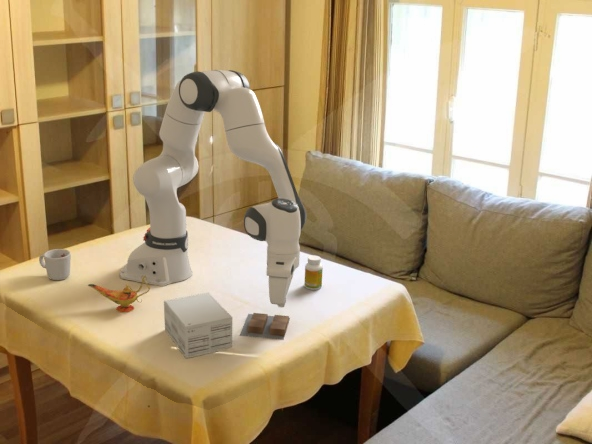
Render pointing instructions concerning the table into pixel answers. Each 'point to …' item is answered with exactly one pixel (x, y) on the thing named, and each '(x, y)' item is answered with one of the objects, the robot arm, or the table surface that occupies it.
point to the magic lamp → (121, 296)
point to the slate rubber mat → (265, 334)
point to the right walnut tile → (279, 325)
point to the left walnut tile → (257, 323)
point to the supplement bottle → (313, 273)
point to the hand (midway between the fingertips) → (281, 305)
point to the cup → (56, 263)
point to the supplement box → (198, 324)
